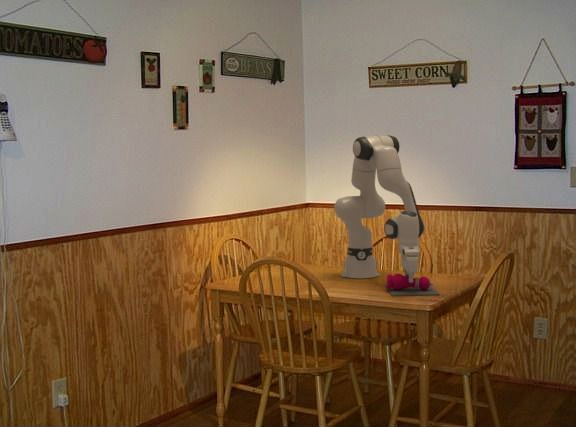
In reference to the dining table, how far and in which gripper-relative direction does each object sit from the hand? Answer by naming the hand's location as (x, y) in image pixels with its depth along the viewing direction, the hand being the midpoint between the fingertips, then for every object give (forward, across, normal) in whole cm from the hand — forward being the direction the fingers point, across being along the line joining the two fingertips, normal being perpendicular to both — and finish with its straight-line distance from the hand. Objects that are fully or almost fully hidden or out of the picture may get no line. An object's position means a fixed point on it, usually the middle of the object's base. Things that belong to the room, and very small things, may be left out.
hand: (408, 280), depth 343 cm
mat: (+5, 0, +1) cm, 5 cm away
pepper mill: (0, 0, -10) cm, 10 cm away
